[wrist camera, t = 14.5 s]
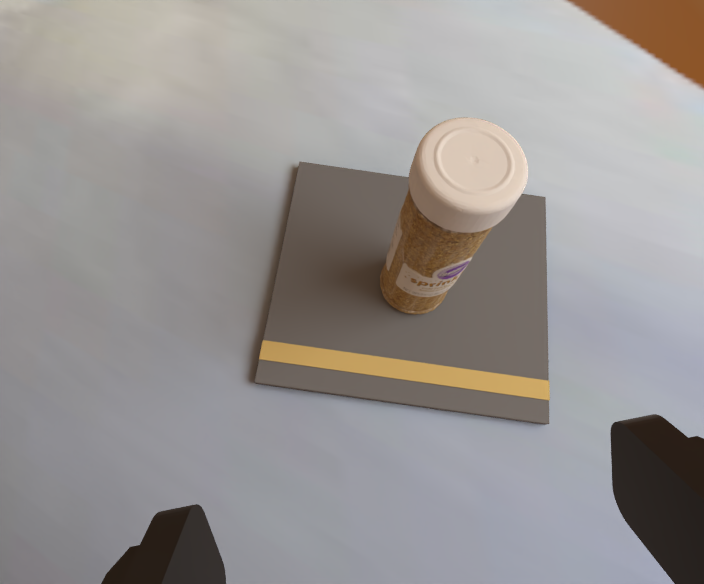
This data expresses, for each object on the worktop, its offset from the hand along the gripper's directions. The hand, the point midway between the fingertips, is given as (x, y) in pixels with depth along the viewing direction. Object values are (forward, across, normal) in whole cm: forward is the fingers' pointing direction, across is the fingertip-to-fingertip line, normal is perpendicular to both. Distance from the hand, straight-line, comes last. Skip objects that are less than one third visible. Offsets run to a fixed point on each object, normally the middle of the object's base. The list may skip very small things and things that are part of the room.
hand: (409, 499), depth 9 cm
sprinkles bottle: (+22, -3, +3) cm, 23 cm away
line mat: (+22, -3, +3) cm, 23 cm away
